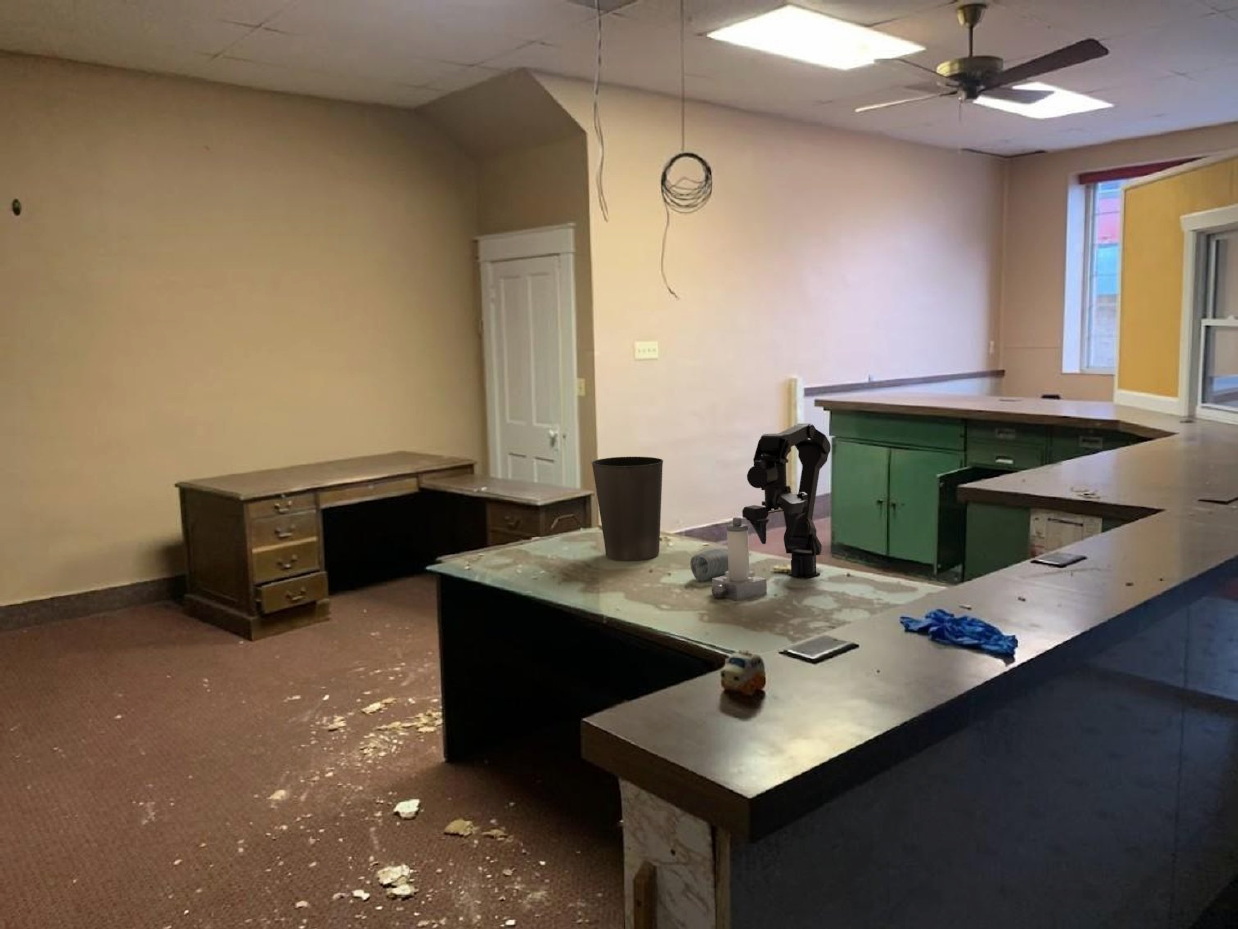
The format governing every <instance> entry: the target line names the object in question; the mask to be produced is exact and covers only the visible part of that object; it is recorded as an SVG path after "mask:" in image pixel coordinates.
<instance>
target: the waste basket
mask: <svg viewBox="0 0 1238 929" xmlns="http://www.w3.org/2000/svg"><path fill="white" fill-rule="evenodd" d="M663 464H664V459H662V458H659V457H651V456H617V457H614V456H613V457H605V458H604V457H603V458H600V459H596V460H592V461H591V466H592V472H593V477H594V478H593V479H594V484H595V489H596V492H595V493H596V497H597V503H598V511H599V517H600V522H601V529H602V536H603V541H604V542H603V543H604V550H605V555H606V559H610V560H612V561H613V560H614V561H618V562H619V561H620V562H622V561H623V562H630V561H643V560H649V559H652V558H655V557H656V556H658V555H659V554H660V545H661V544H660V541H661V518H662V516H661V515H662V494H663V493H662V490H663Z"/></svg>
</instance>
